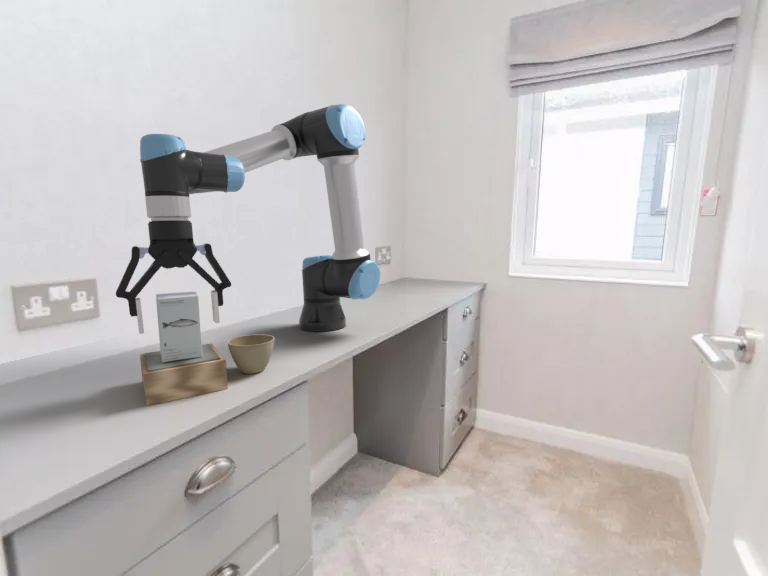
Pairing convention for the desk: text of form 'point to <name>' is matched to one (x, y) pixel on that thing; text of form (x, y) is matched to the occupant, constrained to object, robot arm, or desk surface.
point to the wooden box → (182, 375)
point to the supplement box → (179, 326)
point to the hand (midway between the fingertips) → (180, 326)
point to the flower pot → (251, 352)
